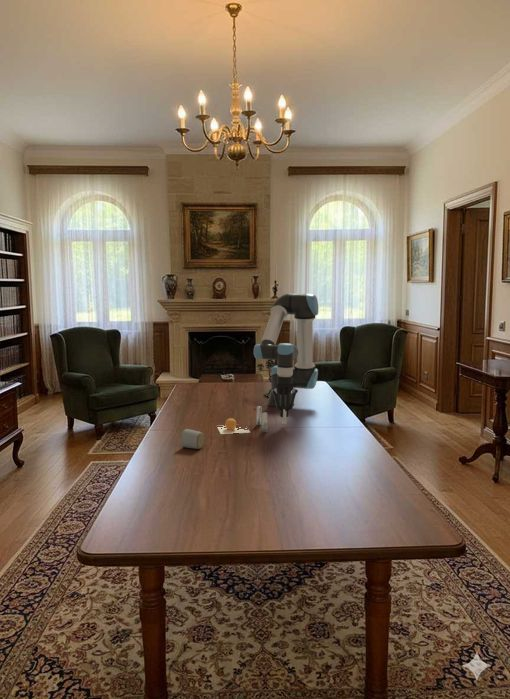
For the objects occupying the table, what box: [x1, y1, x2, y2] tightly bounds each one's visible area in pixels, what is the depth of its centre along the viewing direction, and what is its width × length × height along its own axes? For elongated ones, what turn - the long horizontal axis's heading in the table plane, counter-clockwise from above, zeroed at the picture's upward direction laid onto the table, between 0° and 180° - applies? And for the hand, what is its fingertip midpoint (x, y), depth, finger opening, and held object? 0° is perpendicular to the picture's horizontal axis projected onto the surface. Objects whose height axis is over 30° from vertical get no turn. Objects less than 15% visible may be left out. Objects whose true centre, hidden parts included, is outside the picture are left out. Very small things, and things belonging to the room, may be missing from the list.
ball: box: [224, 418, 238, 430], centre depth 238 cm, size 6×6×6 cm
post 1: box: [256, 405, 263, 426], centre depth 248 cm, size 2×2×9 cm
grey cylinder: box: [180, 428, 206, 450], centre depth 212 cm, size 11×8×8 cm
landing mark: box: [216, 425, 251, 435], centre depth 239 cm, size 14×14×1 cm
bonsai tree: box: [252, 352, 277, 397], centre depth 311 cm, size 35×24×32 cm
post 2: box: [261, 411, 269, 433], centre depth 236 cm, size 2×2×9 cm
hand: (283, 423), depth 244 cm, fingers closed
